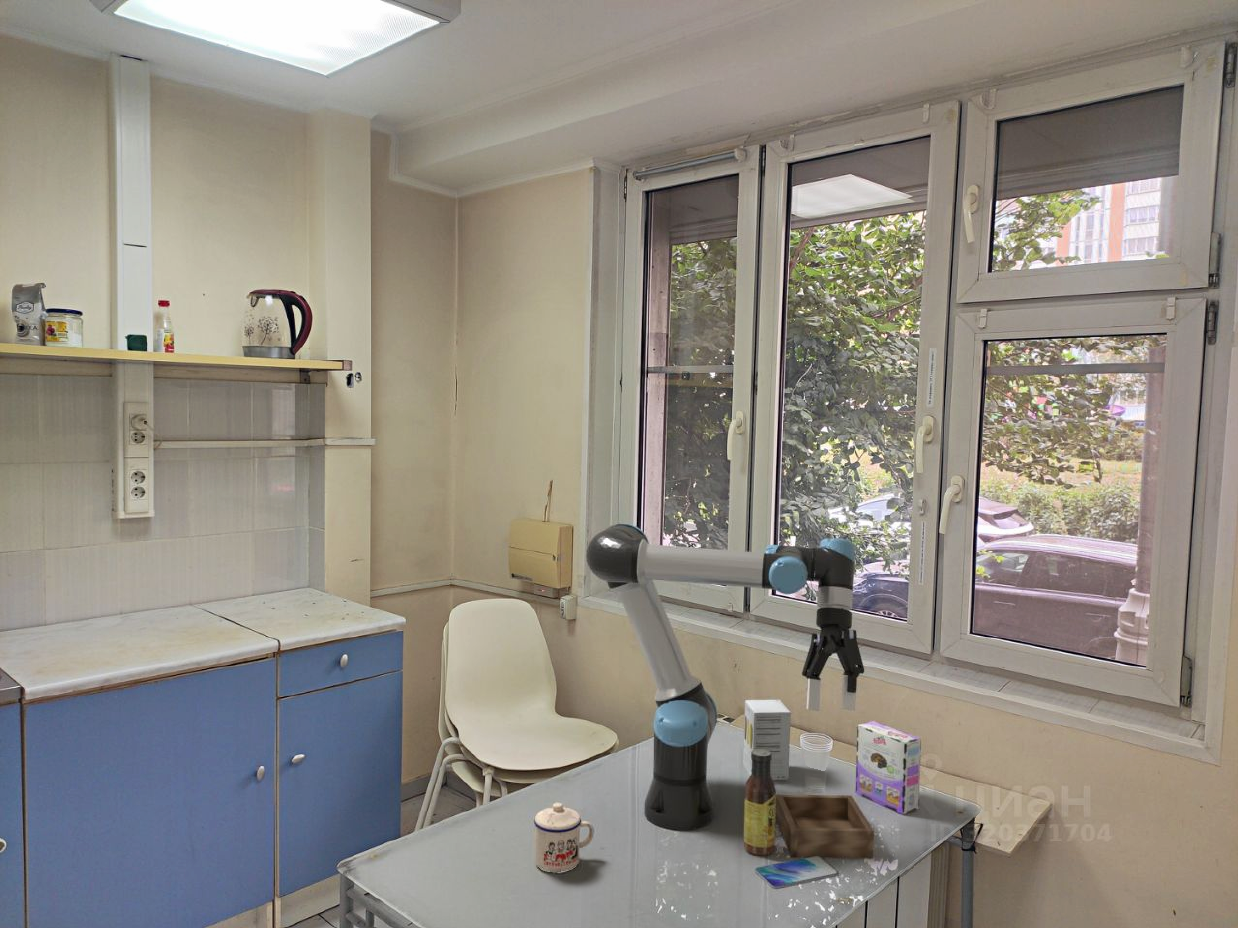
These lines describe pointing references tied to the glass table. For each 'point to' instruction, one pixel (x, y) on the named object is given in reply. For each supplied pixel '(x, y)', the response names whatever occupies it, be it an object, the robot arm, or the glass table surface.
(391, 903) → the glass table surface
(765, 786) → the sauce bottle
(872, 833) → the walled box
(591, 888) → the glass table surface
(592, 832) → the teacup with lid
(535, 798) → the glass table surface
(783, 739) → the supplement box
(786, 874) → the smartphone
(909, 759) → the candy box
